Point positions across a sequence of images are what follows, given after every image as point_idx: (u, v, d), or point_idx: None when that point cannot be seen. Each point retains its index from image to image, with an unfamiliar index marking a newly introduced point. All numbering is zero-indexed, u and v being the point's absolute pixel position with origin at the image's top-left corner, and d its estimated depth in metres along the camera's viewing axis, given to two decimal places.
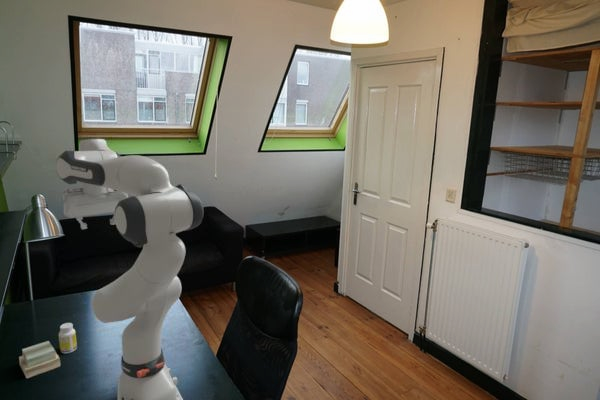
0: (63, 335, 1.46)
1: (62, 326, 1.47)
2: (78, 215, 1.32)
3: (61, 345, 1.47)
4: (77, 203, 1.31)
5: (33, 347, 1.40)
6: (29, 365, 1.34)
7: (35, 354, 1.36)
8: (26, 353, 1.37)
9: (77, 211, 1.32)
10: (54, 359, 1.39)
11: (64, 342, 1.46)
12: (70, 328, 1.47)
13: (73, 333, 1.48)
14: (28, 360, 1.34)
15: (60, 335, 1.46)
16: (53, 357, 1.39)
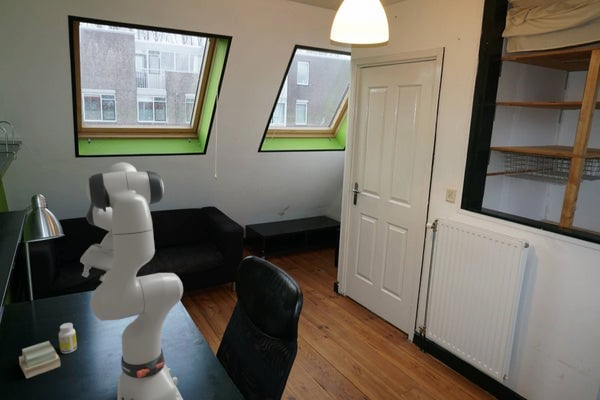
0: (63, 335, 1.46)
1: (62, 326, 1.47)
2: (85, 261, 1.60)
3: (61, 345, 1.47)
4: (91, 253, 1.62)
5: (33, 347, 1.40)
6: (29, 365, 1.34)
7: (35, 354, 1.36)
8: (26, 353, 1.37)
9: (86, 258, 1.61)
10: (54, 359, 1.39)
11: (64, 342, 1.46)
12: (70, 328, 1.47)
13: (73, 333, 1.48)
14: (28, 360, 1.34)
15: (60, 335, 1.46)
16: (53, 357, 1.39)
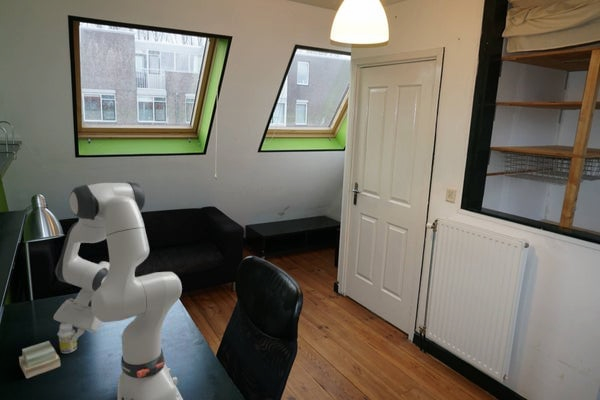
0: (63, 335, 1.46)
1: (62, 326, 1.47)
2: (58, 319, 1.52)
3: (61, 345, 1.47)
4: (65, 309, 1.54)
5: (33, 347, 1.40)
6: (29, 365, 1.34)
7: (35, 354, 1.36)
8: (26, 353, 1.37)
9: (60, 315, 1.53)
10: (54, 359, 1.39)
11: (64, 342, 1.46)
12: (70, 328, 1.47)
13: (73, 333, 1.48)
14: (28, 360, 1.34)
15: (60, 335, 1.46)
16: (53, 357, 1.39)
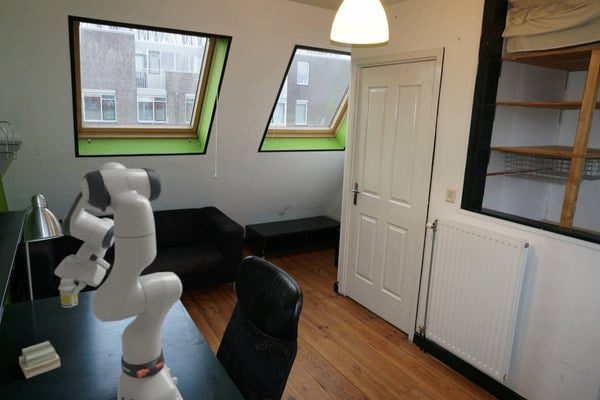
0: (64, 289, 1.44)
1: (63, 280, 1.46)
2: (59, 273, 1.50)
3: (62, 299, 1.45)
4: (66, 264, 1.52)
5: (33, 347, 1.40)
6: (29, 365, 1.34)
7: (35, 354, 1.36)
8: (26, 353, 1.37)
9: (61, 270, 1.51)
10: (54, 359, 1.39)
11: (65, 296, 1.45)
12: (71, 282, 1.46)
13: (74, 287, 1.46)
14: (28, 360, 1.34)
15: (61, 289, 1.45)
16: (53, 357, 1.39)
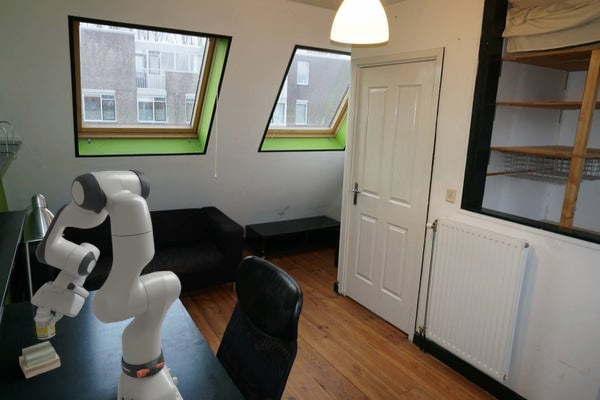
0: (40, 320, 1.37)
1: (39, 310, 1.38)
2: (36, 302, 1.43)
3: (38, 330, 1.38)
4: (43, 292, 1.45)
5: (33, 347, 1.40)
6: (29, 365, 1.34)
7: (35, 354, 1.36)
8: (26, 353, 1.37)
9: (38, 298, 1.44)
10: (54, 359, 1.39)
11: (40, 328, 1.38)
12: (48, 313, 1.39)
13: (51, 318, 1.39)
14: (28, 360, 1.34)
15: (37, 320, 1.37)
16: (53, 357, 1.39)
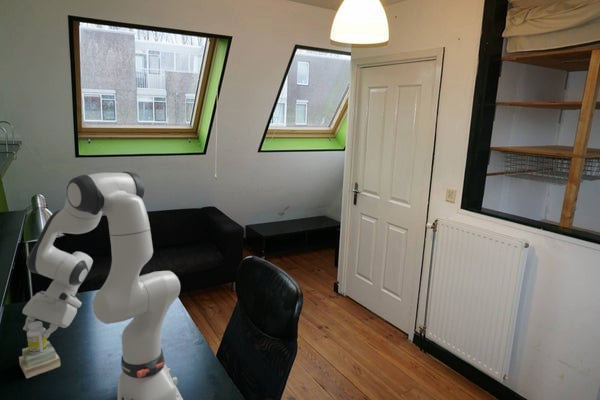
0: (32, 335, 1.35)
1: (31, 324, 1.36)
2: (27, 313, 1.41)
3: (29, 345, 1.36)
4: (35, 302, 1.43)
5: None
6: (29, 365, 1.34)
7: (35, 354, 1.36)
8: (26, 353, 1.37)
9: (29, 309, 1.41)
10: (54, 359, 1.39)
11: (32, 342, 1.35)
12: (39, 326, 1.36)
13: None
14: (28, 360, 1.34)
15: (28, 334, 1.35)
16: (53, 357, 1.39)
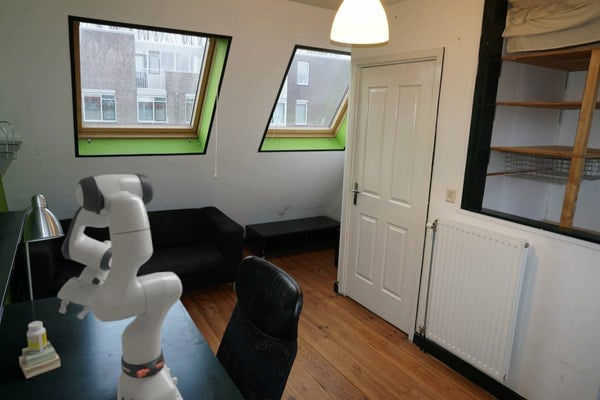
0: (32, 335, 1.35)
1: (31, 324, 1.36)
2: (62, 296, 1.52)
3: (29, 345, 1.36)
4: (68, 287, 1.55)
5: None
6: (29, 365, 1.34)
7: (35, 354, 1.36)
8: (26, 353, 1.37)
9: (64, 293, 1.53)
10: (54, 359, 1.39)
11: (32, 342, 1.35)
12: (39, 327, 1.36)
13: (43, 332, 1.37)
14: (28, 360, 1.34)
15: (28, 334, 1.35)
16: (53, 357, 1.39)
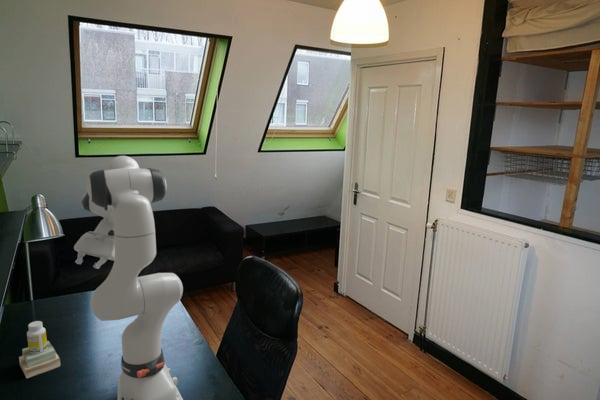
0: (32, 335, 1.35)
1: (31, 324, 1.36)
2: (79, 248, 1.57)
3: (29, 345, 1.36)
4: (85, 240, 1.59)
5: None
6: (29, 365, 1.34)
7: (35, 354, 1.36)
8: (26, 353, 1.37)
9: (80, 245, 1.57)
10: (54, 359, 1.39)
11: (32, 342, 1.35)
12: (39, 326, 1.36)
13: (43, 332, 1.37)
14: (28, 360, 1.34)
15: (28, 334, 1.35)
16: (53, 357, 1.39)
